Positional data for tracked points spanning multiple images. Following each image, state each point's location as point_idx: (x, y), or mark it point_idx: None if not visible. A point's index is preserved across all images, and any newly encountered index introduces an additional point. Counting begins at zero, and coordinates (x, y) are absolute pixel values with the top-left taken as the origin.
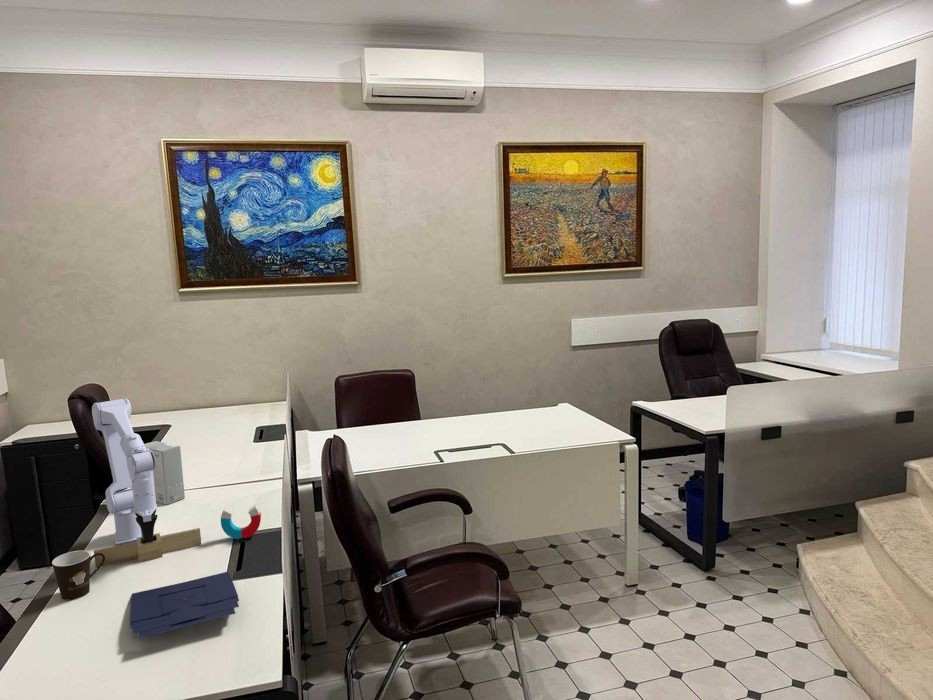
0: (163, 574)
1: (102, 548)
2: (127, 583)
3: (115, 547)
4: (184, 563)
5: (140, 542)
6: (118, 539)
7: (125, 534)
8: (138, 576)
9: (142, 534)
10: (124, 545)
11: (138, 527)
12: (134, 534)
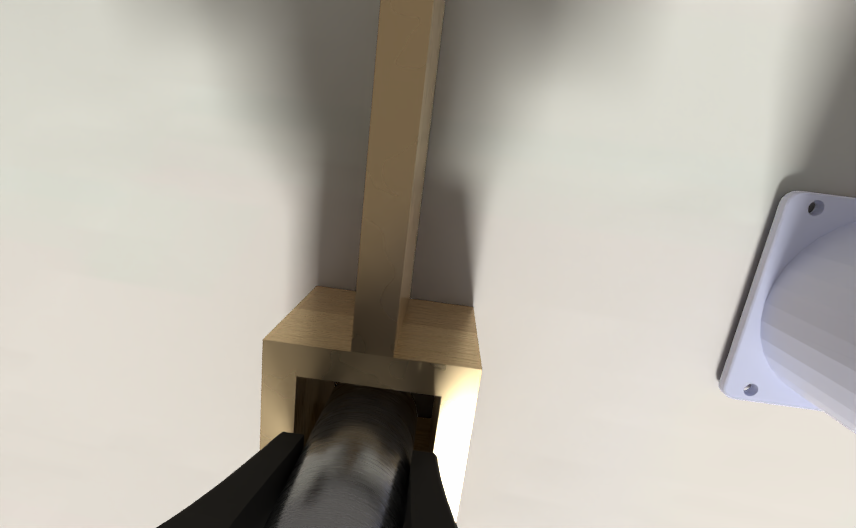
0: (43, 372)
1: (422, 3)
2: (10, 161)
3: (370, 146)
4: (138, 494)
5: (333, 377)
6: (851, 226)
7: (825, 294)
8: (86, 241)
9: (316, 452)
10: (361, 237)
11: (846, 422)
12: (787, 356)
